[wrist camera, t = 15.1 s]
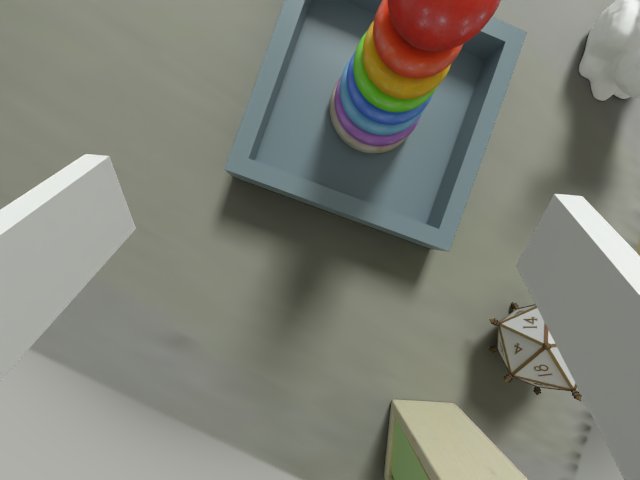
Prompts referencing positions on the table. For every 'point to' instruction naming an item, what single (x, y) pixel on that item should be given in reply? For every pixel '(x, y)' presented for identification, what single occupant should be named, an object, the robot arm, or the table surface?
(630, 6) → the rabbit
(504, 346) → the game die
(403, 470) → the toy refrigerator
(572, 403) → the table surface
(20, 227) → the robot arm
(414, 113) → the stacking toy
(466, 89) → the tray
